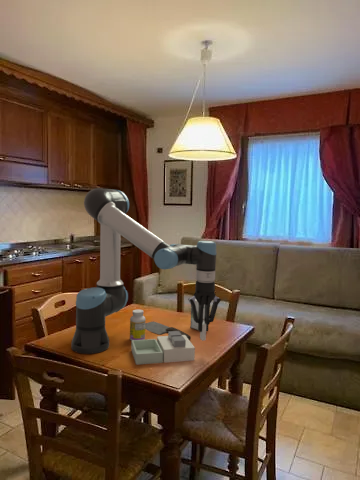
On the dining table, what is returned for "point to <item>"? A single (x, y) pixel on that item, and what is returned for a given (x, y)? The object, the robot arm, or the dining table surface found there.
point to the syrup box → (193, 323)
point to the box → (146, 351)
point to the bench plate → (176, 350)
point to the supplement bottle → (137, 325)
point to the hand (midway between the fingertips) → (202, 339)
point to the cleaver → (161, 329)
